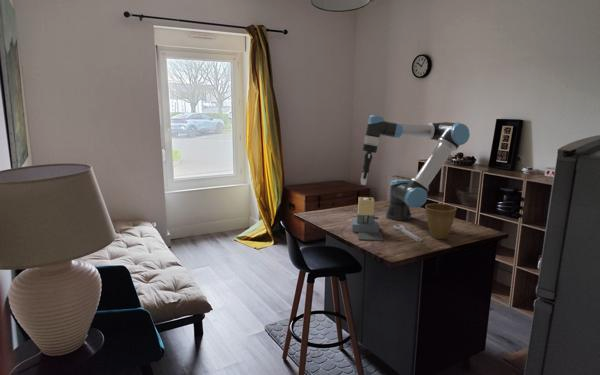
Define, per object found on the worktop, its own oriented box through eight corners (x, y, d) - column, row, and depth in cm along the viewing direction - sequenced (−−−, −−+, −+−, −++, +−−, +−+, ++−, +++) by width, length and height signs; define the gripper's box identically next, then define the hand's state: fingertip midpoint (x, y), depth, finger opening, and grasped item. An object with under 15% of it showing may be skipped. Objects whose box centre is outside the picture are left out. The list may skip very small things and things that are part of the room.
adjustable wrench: (423, 242, 192) (423, 239, 192) (411, 243, 191) (411, 240, 191) (401, 227, 217) (401, 224, 216) (390, 227, 215) (390, 224, 215)
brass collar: (372, 211, 213) (373, 197, 211) (373, 215, 205) (374, 200, 203) (357, 211, 214) (358, 196, 212) (358, 214, 206) (359, 200, 204)
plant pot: (437, 230, 210) (440, 202, 206) (460, 239, 197) (463, 208, 193) (417, 234, 203) (419, 205, 200) (438, 243, 190) (441, 212, 187)
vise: (376, 226, 216) (378, 197, 212) (378, 232, 205) (380, 201, 202) (351, 225, 217) (352, 196, 214) (352, 231, 206) (353, 200, 203)
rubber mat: (381, 234, 203) (381, 233, 203) (383, 241, 192) (383, 240, 192) (358, 233, 204) (358, 232, 204) (359, 240, 193) (359, 239, 193)
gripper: (363, 142, 220) (356, 179, 223) (364, 143, 195) (356, 184, 199) (376, 145, 219) (369, 181, 222) (379, 146, 194) (370, 187, 198)
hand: (362, 183), depth 210 cm, fingers open, 13 cm apart
